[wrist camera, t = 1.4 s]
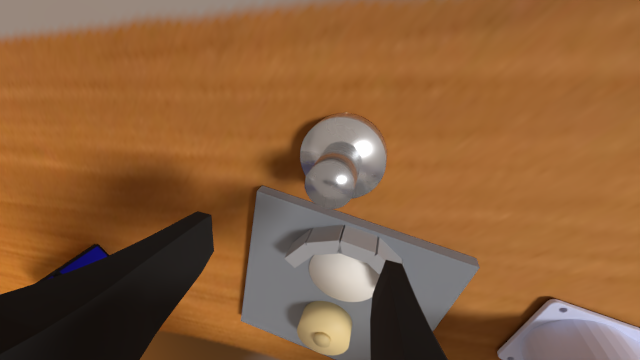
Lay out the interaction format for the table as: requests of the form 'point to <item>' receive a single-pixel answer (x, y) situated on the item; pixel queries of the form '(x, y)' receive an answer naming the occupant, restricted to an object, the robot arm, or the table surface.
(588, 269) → the table surface
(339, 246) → the carrier plate
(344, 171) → the flanged metal pin
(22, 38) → the table surface
